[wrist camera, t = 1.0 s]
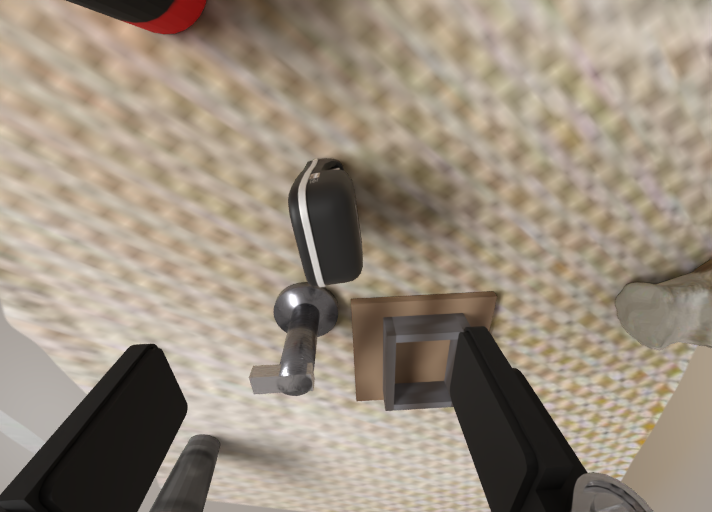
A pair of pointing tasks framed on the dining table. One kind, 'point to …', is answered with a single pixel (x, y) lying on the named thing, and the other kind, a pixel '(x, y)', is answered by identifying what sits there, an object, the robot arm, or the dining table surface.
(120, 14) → the soda can
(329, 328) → the post
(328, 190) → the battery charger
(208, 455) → the beverage cup
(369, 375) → the holder
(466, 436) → the robot arm
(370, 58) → the dining table surface
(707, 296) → the ceramic sculpture
